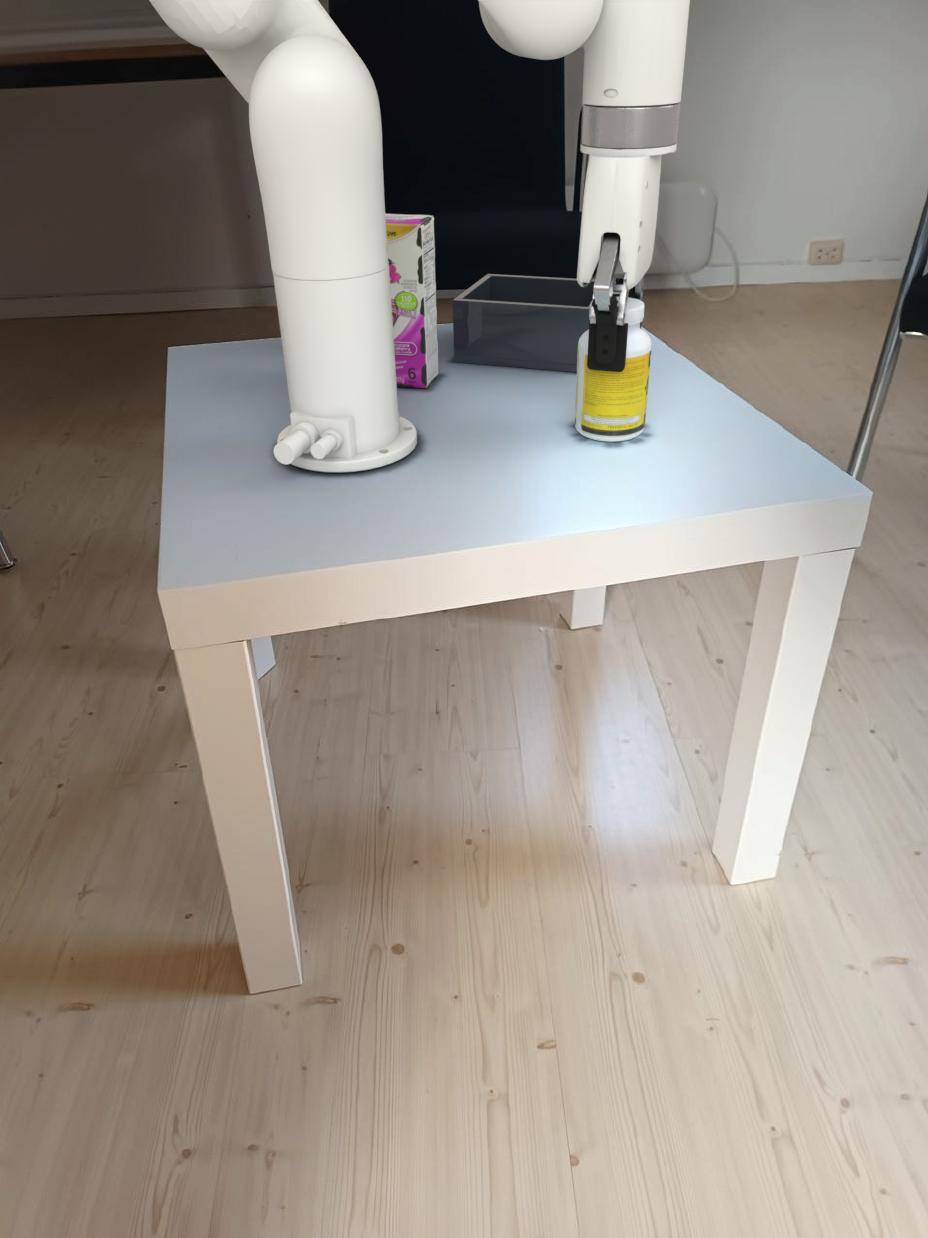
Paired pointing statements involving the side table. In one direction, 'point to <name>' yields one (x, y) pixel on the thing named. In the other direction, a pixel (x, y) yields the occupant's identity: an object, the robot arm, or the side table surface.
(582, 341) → the pill bottle
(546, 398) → the side table surface
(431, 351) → the candy bar box
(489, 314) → the open box
